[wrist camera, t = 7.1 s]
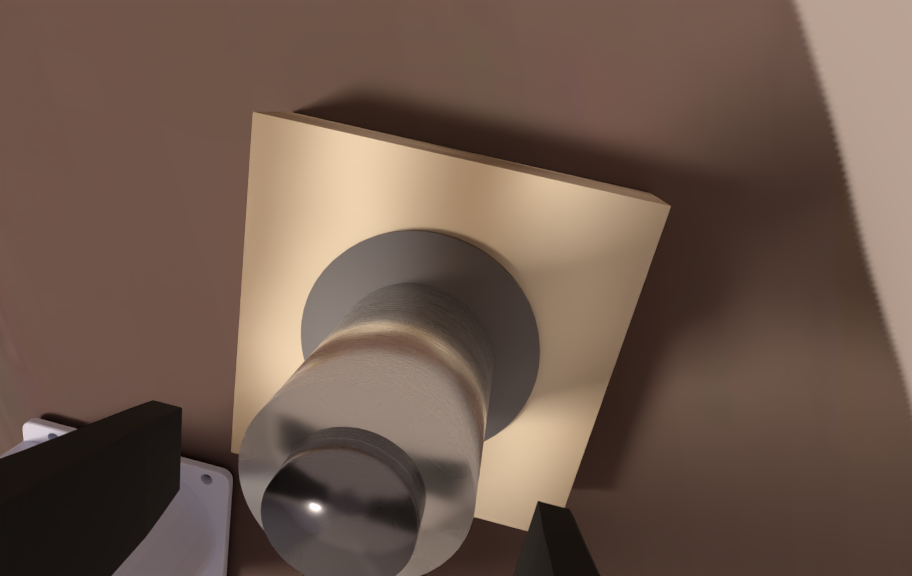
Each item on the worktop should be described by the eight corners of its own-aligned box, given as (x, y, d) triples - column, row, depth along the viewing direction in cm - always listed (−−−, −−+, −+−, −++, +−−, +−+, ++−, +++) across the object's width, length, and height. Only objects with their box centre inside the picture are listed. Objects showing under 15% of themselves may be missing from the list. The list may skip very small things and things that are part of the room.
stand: (263, 414, 21) (226, 457, 18) (291, 111, 17) (247, 111, 14) (550, 489, 20) (554, 545, 18) (650, 193, 16) (673, 208, 14)
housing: (334, 412, 17) (214, 597, 11) (341, 271, 16) (205, 386, 9) (481, 439, 17) (452, 649, 10) (505, 297, 15) (489, 438, 9)
